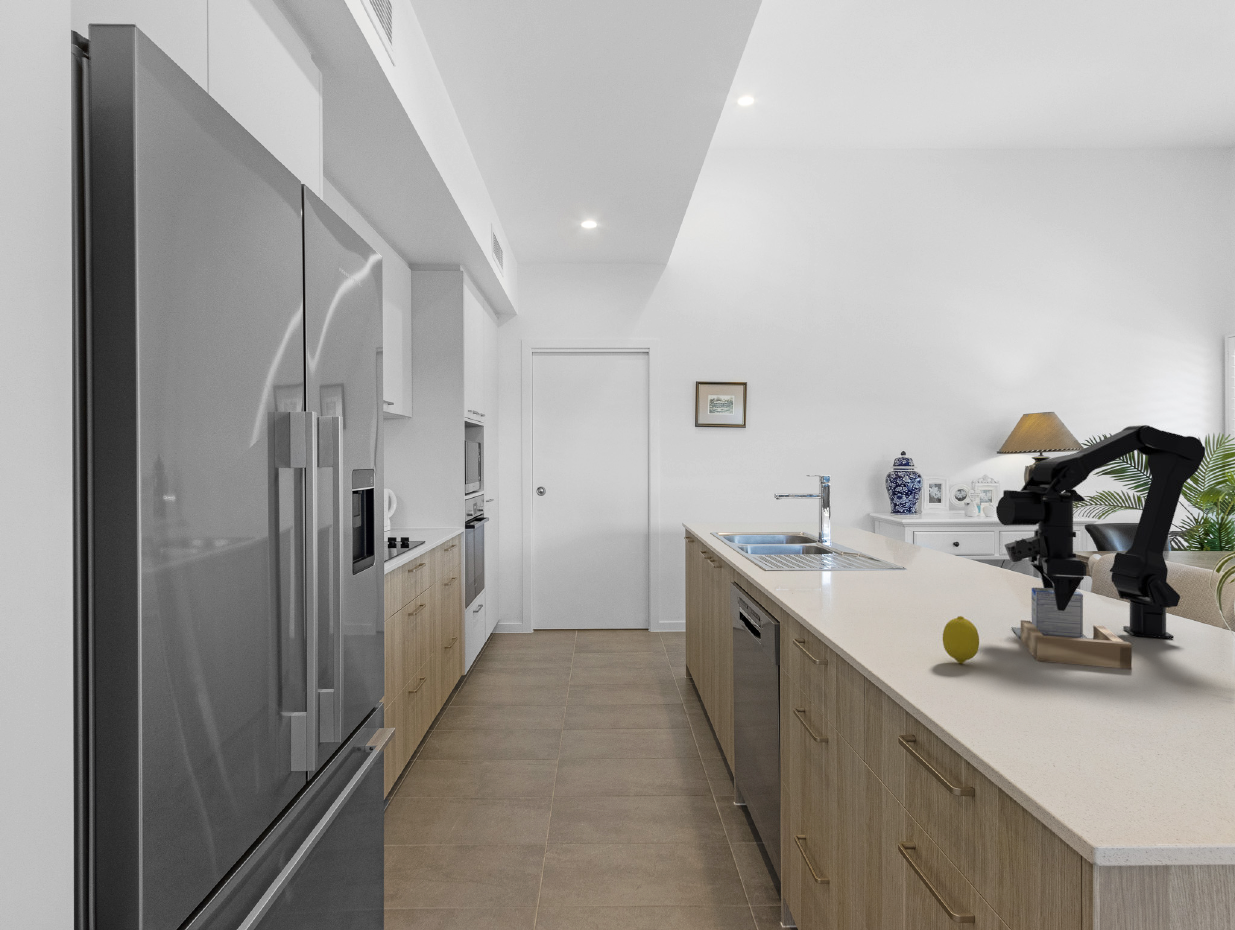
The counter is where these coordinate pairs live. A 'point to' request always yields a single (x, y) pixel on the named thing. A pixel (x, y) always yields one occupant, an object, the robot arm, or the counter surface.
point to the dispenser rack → (1078, 647)
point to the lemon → (960, 639)
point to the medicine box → (1057, 614)
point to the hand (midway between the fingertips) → (1055, 605)
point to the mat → (1018, 632)
